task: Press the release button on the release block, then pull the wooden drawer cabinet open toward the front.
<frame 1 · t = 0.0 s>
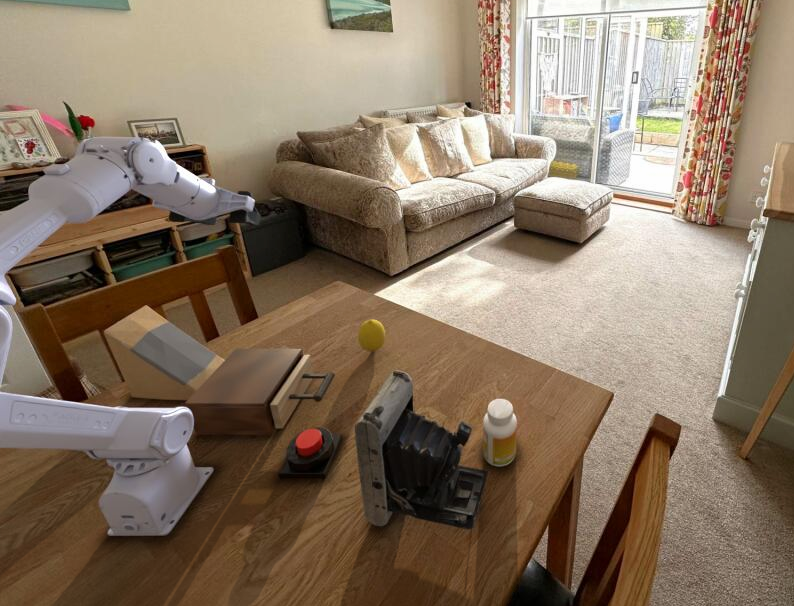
hand: (236, 220, 72), 32 cm above the table, tool tilted 50°, fingers open, 7 cm apart
machine drawer: (281, 389, 73), point 4 cm above the table, slide at 0.5 cm
release button: (309, 442, 63), point 3 cm above the table, slide at 0.1 cm
release block: (312, 458, 65), on the table
lemon: (373, 351, 89), on the table
supplement bottle: (499, 453, 66), on the table
sandwich container: (188, 384, 79), on the table
vintage camera: (430, 502, 59), on the table
wooden drawer cabinet: (256, 403, 74), on the table
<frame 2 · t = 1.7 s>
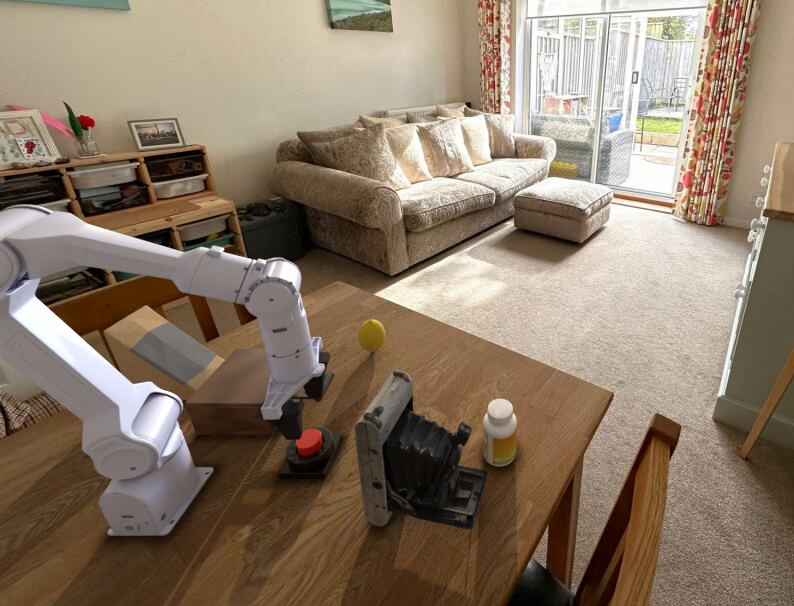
hand: (305, 416, 62), 9 cm above the table, tool pointing down, fingers open, 7 cm apart
nothing on the table moved.
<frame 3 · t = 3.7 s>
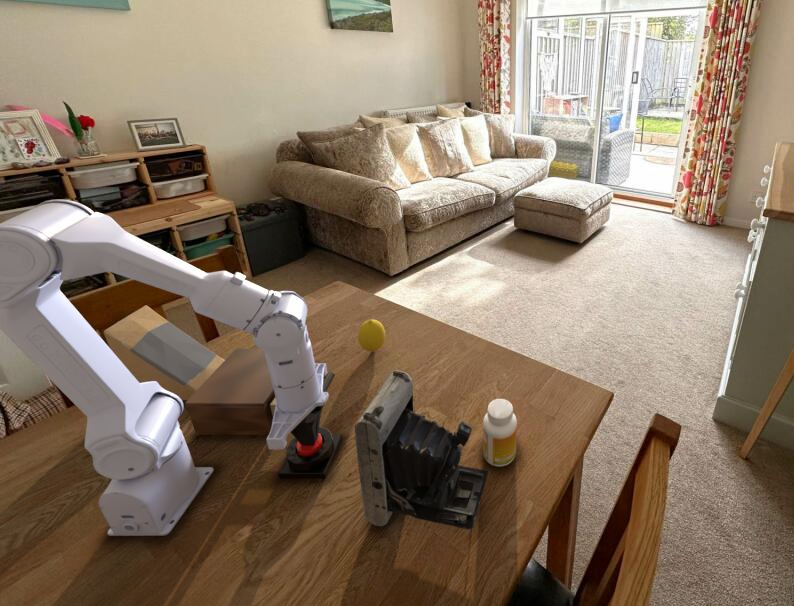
hand: (309, 441, 63), 4 cm above the table, tool pointing down, fingers closed, pressing on release button
release button: (310, 445, 64), point 3 cm above the table, slide at -0.7 cm, touching gripper
everything else where it was.
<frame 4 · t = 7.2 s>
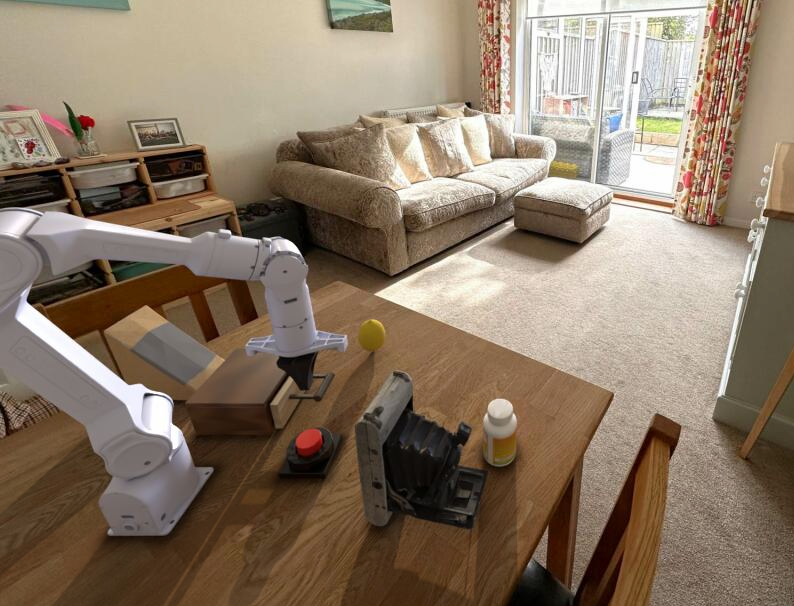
hand: (306, 386, 66), 9 cm above the table, tool pointing down, fingers closed
release button: (309, 442, 63), point 3 cm above the table, slide at 0.1 cm
everything else where it was.
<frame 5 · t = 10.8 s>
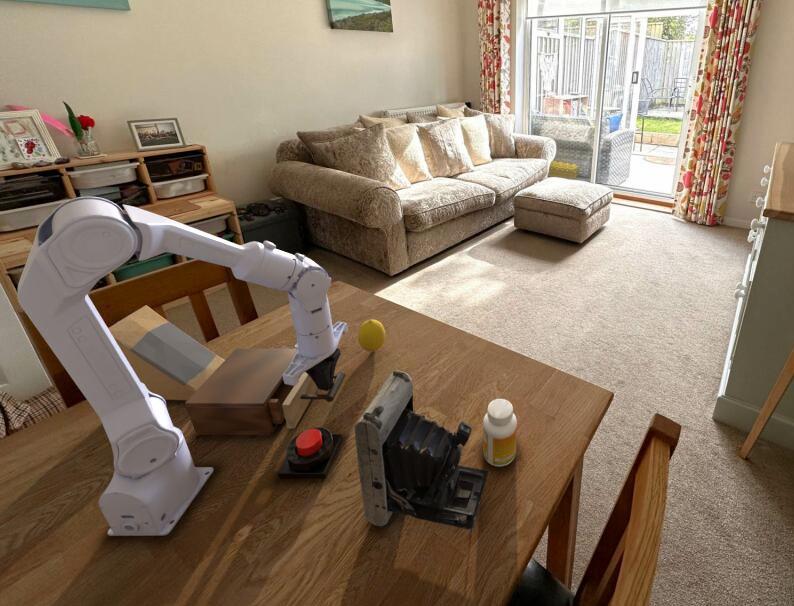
hand: (325, 387, 73), 4 cm above the table, tool pointing down, fingers closed
machine drawer: (292, 389, 73), point 4 cm above the table, slide at 2.5 cm, touching gripper
everything else where it was.
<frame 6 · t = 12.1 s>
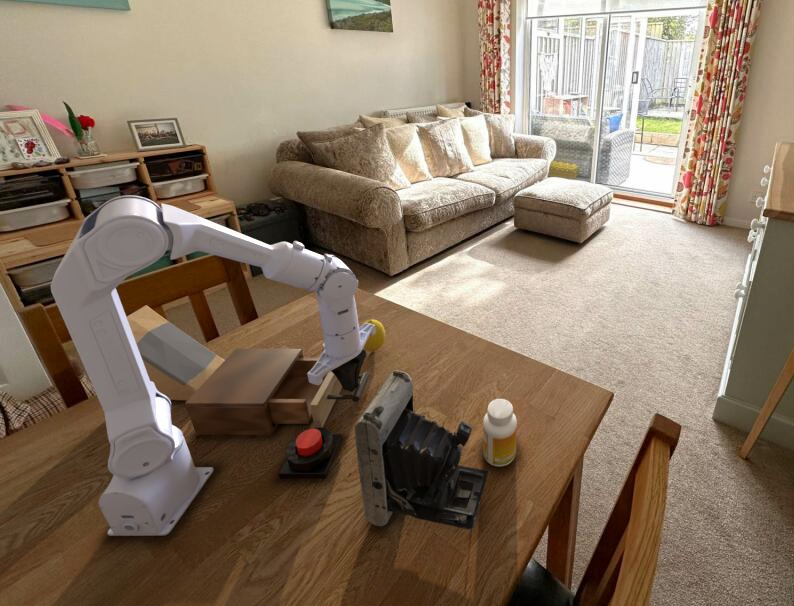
hand: (350, 387, 73), 4 cm above the table, tool pointing down, fingers closed
machine drawer: (317, 389, 73), point 4 cm above the table, slide at 7.1 cm, touching gripper
everything else where it was.
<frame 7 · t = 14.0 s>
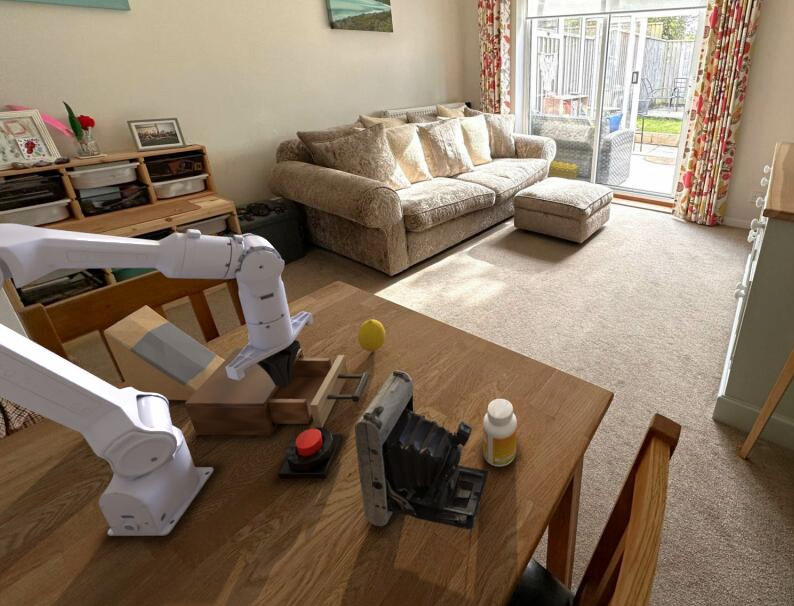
hand: (283, 383, 66), 10 cm above the table, tool pointing down, fingers closed
machine drawer: (317, 389, 73), point 4 cm above the table, slide at 7.1 cm
everything else where it was.
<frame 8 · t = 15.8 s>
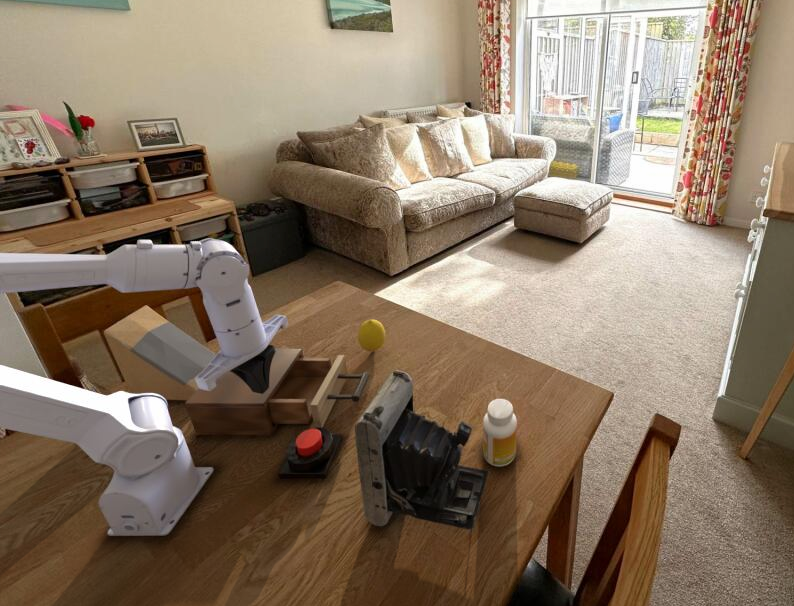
hand: (260, 389, 64), 10 cm above the table, tool pointing down, fingers closed
nothing on the table moved.
at the end: release button pushed in 1.2 cm at the most during the clip, back to where it started at the end; release button slide at 0.1 cm; machine drawer slide at 7.1 cm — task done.
